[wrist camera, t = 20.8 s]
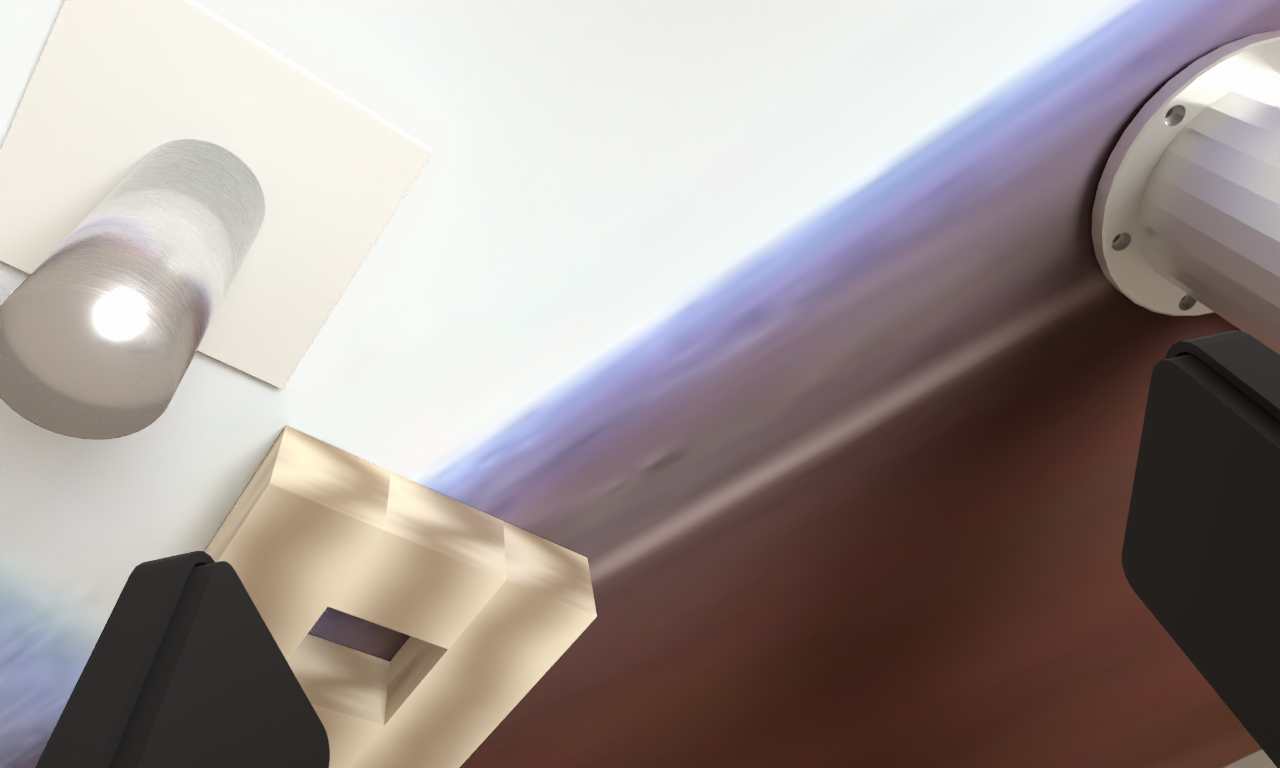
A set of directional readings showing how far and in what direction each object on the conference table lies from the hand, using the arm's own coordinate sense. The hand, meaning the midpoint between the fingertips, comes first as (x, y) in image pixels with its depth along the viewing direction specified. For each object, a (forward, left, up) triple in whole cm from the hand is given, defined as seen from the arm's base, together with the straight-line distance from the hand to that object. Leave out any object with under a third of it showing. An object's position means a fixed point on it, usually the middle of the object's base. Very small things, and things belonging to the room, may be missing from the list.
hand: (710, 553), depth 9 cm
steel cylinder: (+7, +12, -27) cm, 30 cm away
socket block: (-8, +28, -27) cm, 40 cm away
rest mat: (+7, +12, -27) cm, 31 cm away
